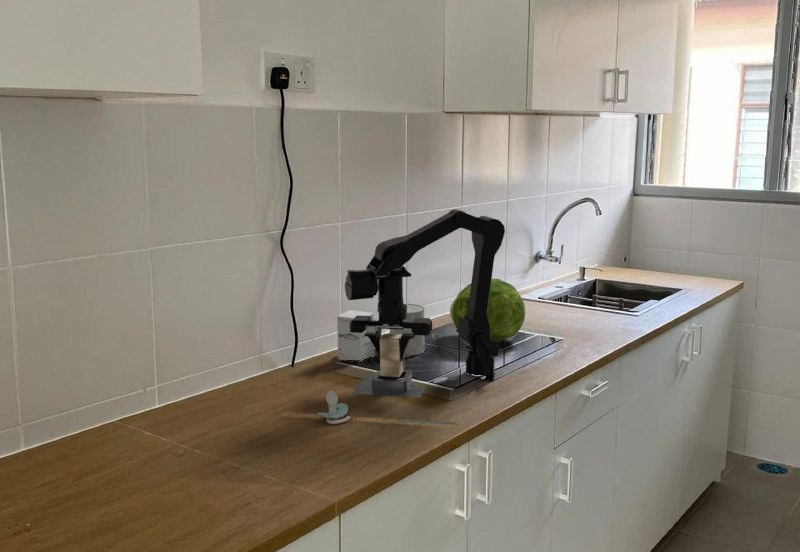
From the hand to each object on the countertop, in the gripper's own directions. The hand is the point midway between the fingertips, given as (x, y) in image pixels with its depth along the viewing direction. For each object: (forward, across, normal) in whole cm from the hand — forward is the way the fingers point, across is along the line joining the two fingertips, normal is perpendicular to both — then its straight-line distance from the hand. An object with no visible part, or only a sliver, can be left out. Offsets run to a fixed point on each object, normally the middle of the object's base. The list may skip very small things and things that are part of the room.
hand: (391, 360), depth 191 cm
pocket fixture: (+7, 0, 0) cm, 7 cm away
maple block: (+3, 0, 0) cm, 3 cm away
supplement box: (+7, +14, -20) cm, 25 cm away
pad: (+7, -12, +14) cm, 20 cm away
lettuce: (+7, -17, -42) cm, 46 cm away
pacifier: (+7, +8, +20) cm, 23 cm away
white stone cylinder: (+7, +2, -29) cm, 30 cm away
